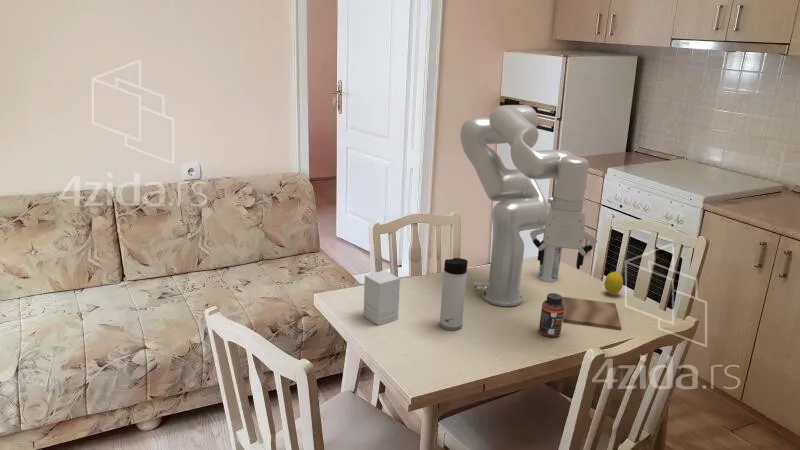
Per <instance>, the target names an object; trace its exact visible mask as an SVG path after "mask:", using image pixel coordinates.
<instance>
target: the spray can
mask: <svg viewBox="0 0 800 450" xmlns="http://www.w3.org/2000/svg"><path fill="white" fill-rule="evenodd" d="M542 240H544V235H543V238H542ZM562 251H563V248H561V247H552V246H548V245H547V246H546V247H545V248H544V258H543V265H540V264H539V271H538V279H539V280H541V281H543V282H546V283H555V282H557V281H558V278H559V271H560V264H561V259H562V257H561V256H562Z"/></svg>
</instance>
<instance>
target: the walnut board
mask: <svg viewBox="0 0 800 450" xmlns="http://www.w3.org/2000/svg"><path fill="white" fill-rule="evenodd" d="M562 303H563V304H564V313H563V320H562V323H567V324H573V325H574V324H575V325H582V326H589V327H596V328H604V329H611V330H612V329H613V330H618V331H621V330H622V323H621V319H620V316H619V312H618V308H617V304H616V303H614V302H608V301H599V300H592V299H591V300H590V299H584V298H577V297H568V296H562Z"/></svg>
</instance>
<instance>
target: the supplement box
mask: <svg viewBox="0 0 800 450" xmlns="http://www.w3.org/2000/svg"><path fill="white" fill-rule="evenodd" d="M400 286H401V278H400V277H398V276H396V275H394V274H392V273H391V272H389V271H387V270H381V271H377V272H373V273H369V274H365V275H364V287H363V288H364V292H363V317H365V318H366V319H368V320H369V321H370V322H372V323H374V324H375V325H377V326H379V325H384V324H387V323H390V322H394V321H396V320H397V321H398V320H399V307H400V305H399V304H400Z"/></svg>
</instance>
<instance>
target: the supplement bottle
mask: <svg viewBox="0 0 800 450" xmlns="http://www.w3.org/2000/svg"><path fill="white" fill-rule="evenodd" d="M562 297H563V296H562V295H561V294H558V293H555V292H554V293H553V292H550V293H547V295H546V299H545V300H543V302H542V304H541V310H540V312H541V313H540V319H539V324H538V325H539V326H538V331H539V333H540V334H541V335H542V336H545V337H549V338H556V337H559V336H560V335H561V332H562V325H563V313H564V304H563V303H562Z"/></svg>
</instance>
